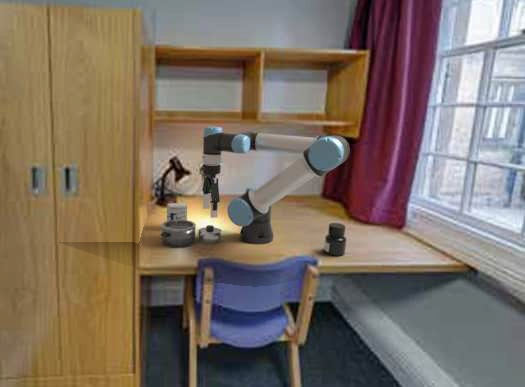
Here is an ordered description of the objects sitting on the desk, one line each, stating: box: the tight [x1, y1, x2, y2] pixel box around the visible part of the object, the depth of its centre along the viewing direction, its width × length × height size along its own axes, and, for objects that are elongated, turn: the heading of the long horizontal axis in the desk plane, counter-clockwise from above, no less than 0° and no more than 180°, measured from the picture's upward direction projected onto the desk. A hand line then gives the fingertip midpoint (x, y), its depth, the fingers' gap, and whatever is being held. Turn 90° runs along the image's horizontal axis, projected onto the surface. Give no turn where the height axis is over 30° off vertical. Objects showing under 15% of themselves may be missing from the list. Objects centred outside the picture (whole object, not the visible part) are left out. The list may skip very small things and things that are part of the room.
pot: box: [160, 219, 197, 249], centre depth 176 cm, size 18×14×8 cm
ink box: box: [166, 202, 188, 221], centre depth 193 cm, size 9×5×12 cm, turn 114°
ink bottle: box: [323, 222, 347, 257], centre depth 174 cm, size 10×9×12 cm
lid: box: [197, 224, 222, 245], centre depth 181 cm, size 10×10×6 cm
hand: (209, 212), depth 179 cm, fingers open, 13 cm apart
